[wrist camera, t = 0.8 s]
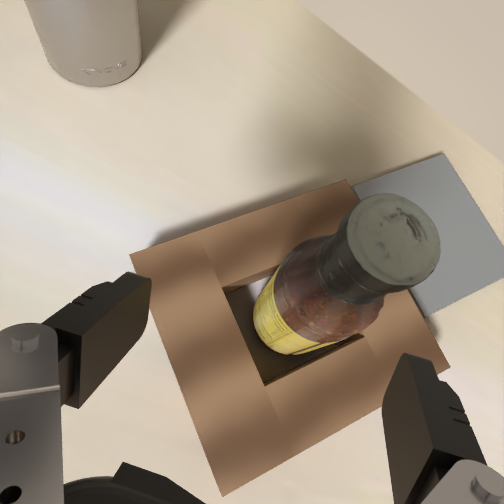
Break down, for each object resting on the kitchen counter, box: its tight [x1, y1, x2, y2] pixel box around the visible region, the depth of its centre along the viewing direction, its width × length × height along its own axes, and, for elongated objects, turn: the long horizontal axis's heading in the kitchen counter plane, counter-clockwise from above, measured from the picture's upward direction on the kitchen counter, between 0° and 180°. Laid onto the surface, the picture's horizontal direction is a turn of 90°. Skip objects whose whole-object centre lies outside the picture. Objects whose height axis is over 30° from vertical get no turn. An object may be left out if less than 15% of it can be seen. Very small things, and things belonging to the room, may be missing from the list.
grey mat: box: [351, 154, 504, 318], centre depth 39 cm, size 14×12×1 cm
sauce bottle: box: [253, 193, 441, 355], centre depth 25 cm, size 6×6×20 cm
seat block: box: [130, 179, 450, 497], centre depth 32 cm, size 18×20×4 cm
